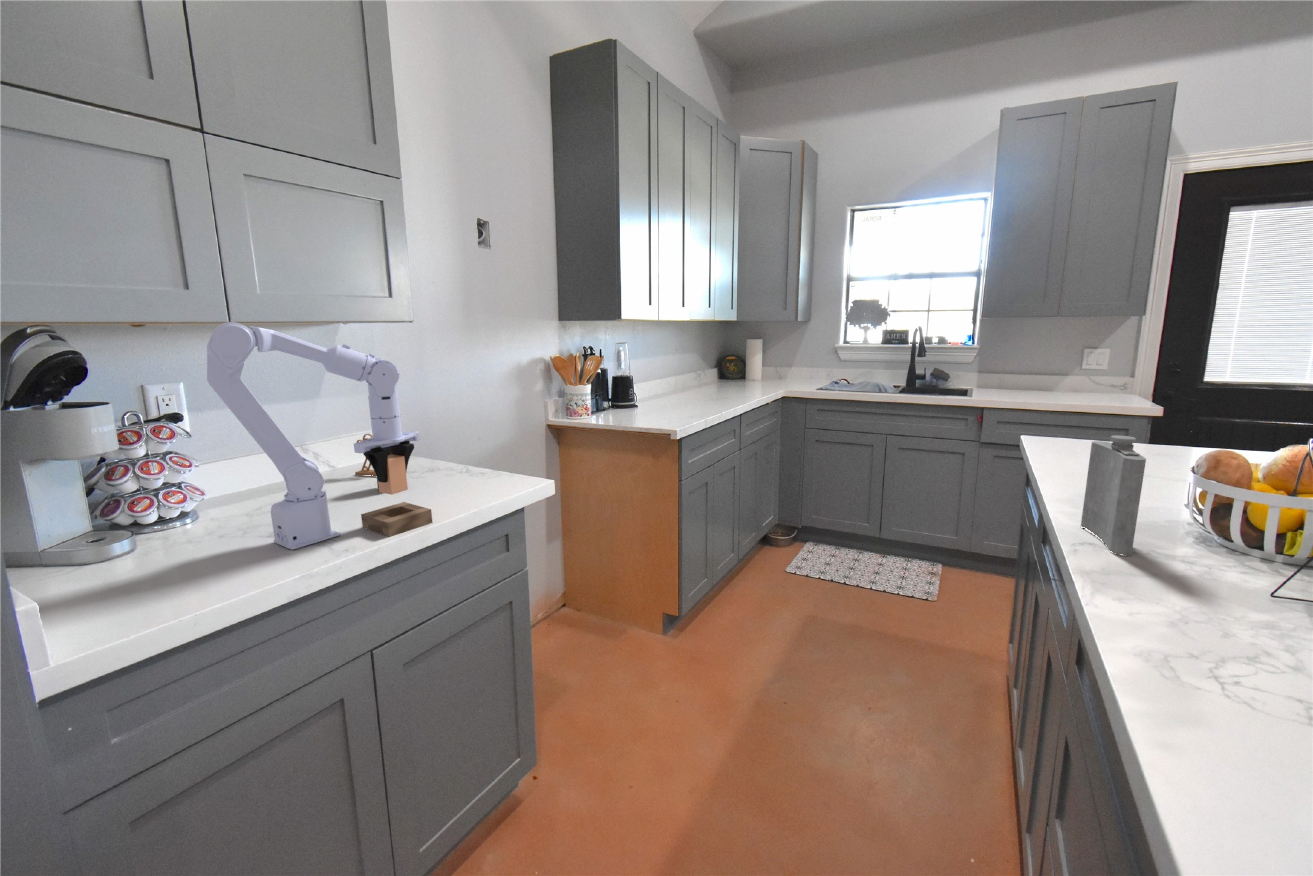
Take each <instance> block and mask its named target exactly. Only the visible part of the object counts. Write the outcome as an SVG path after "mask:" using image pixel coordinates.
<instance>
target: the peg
mask: <svg viewBox="0 0 1313 876" xmlns="http://www.w3.org/2000/svg"><path fill="white" fill-rule="evenodd" d="M387 473H388V481H387V482H386V483H383V482H379V481H378V484H379V489H378V491H379V493H381V494H388V495H391V496H392V495H396V494H399V493H401V492H405V491H407V490H408V489H409V488H408V481H407V480H408V479H407V471H406V468H405V459H404V456H400V455H392V454H391V455H388V459H387Z"/></svg>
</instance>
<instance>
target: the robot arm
mask: <svg viewBox="0 0 1313 876" xmlns="http://www.w3.org/2000/svg"><path fill="white" fill-rule="evenodd" d="M252 330H253V331H252ZM255 347H257V352H258V353H264V352H265V353H266V352H274V351H277V352H280V353H281V352H282V353H285V354H289V355H292V356H296V357H299V358H303V359H306V360H310V361H314V362H318V363H321V364H322V365H323V367H324V369H325V370H326V371H327V373H330V374H332V375H333V374H334V375H337V376H339V377H340V376H341V377H343V378H346V379H349V380H354V381H357V382H364V381H365V382H366V384H367V391H368V406H369V407H368V408H369V414H370V415H369V417H370V425H371V433H372V434H371V435H372V436H373V438H371V437H370V438H371V439H369V438H368V439H367V440H364V441H363V440H362V441H361V442H360V441H359V442H358V443H357V442H354V443H353V450H354V453H356V454H363V456H364V457H366V458H367V461H368V462H369V463H370V464H371V467H372V470H374V471H375V473H376V476H377V477H376V479H377V478H378V481H379V482H383V483H386V482H387V481H388V473H387V459H388V454H389V452H388V451H383V449H382V448H384V447H388V446H390V449H391V451H392V454H393V455H400V456H404V459H405V468H406V472H407V469H408V465H409V461H410V458H411V455H412V453H413V451H414V449H415V443H411V442H418V441H420V431H414V430H413V431H407V432H402V431H403V429H402V420H401V411H400V409H401V408H400V402H399V401H400V399H399V394H398V386H397V383H398V382H399V380H400V373H399V372H398V371H399V370H398V368H397V367H396V366H395V365H394V364H393V362H391V361H388V360H385V359H382V358H380V357H376V354H374V353H369V354H366V353H364V352H360V351H357V350H354V349H351V348H352V347H351V346H350V345H348V344H345V343H343V344H342V345H339V344H334V345H332V346H330V347H323V346H321V345H318V344H314V343H311V342H308V341H306V340H303V339H300V338H297V337H294V336H291V335H289V334H286V333H283V332H280V331H277V330H273V329H270V328H269V329H268V328H263V327H257V326H251V325H249V328H248V327H247V326H245V325H244V324H242V323H239V322H235V321H229V322H223V323H221V324H219V325H218V326H217V327H215V328H214V330H213V331H212V333H211V335H210V337H209V340H208V342H207V345H206V379H207V382H208V384H209V386H210V387H211V388H212V390H213V391H214V392H215V393H216V394H217V396H219V398H220V399H221V401H223V403H224V404H225V406H226V407H227V408H228V409H229V410H230V411H231V413H232V414H233V416H235V418H236V419H237V420H238V421H239V422H240V423H241V425H242V426H243V427H244V428H245V430H246V431H247V432H248V434H249V435H250V436H251V437H252V438H253V440H254V441H255V442H256V443H257V445H259V448H261V449H262V451H263V452H264V453H265V454H266V455H267V457H268V458H269V459H270V460H271V462H272V463H273V465H274V466H275V468H276V470H278V472H279V474H280V475H281V476H282V477H283V480H284V482H285V488H286V490H287V492H286V493H285V494H284V495H283V497H284V499H282V500H281V501H278V502H275V503H273V504H272V505H271V507H270V518H271V522H272V523H271V524H272V529H273V536H274V539H273V543H275V544H277V545H279V546H282V547H285V548H287V549H289V550H296V549H300V548H303V547H306V546H309V545H312V544H315V543H319V542H323V541H325V540H326V541H327V540H329V539H333V538H337V537H339V536H341V532H340V531H336V530H333V529H331V528H332V526H331V521H330V520H331V519H330V513H329V505H328V504H329V503H328V497H327V491H326V489H325V488H324V485H325V484H324V483H325V481H324V476H323V475H322V473H321V472H320V471H319V468H318V465H317V464H315V463H314V462H313V461H312V460H309V459H307V458H306V457H304V456H303V455H302V454H301V452H299V451H300V450H298V449H297V448H296V447H295V445H294V444H293V443H292V442H291V441H290V440H289V439H288V437H287V436H286V434H285V433H284V432H283V430H281V428H280V427H279V425H277V423H276V422H275V420H274V419H273V418H272V417H271V416H270V414H269V413H268V412H267V410H266V409H265V408H264V406H263V405H262V404H261V403H260V401H259V400H258V399H257V398H256V396H255V395H254V393H253V392H252V391H251V390H250V389H249V387H248V386H247V385H246V384H245V382H244V381H243V380H242V379H241V376H242V371H243V369H244V365H245V361H246V360H247V359H248V358H249V357H250V355H251V354H252V352H253V351H254V348H255ZM383 444H384V445H383ZM366 458H365V459H366Z"/></svg>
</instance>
